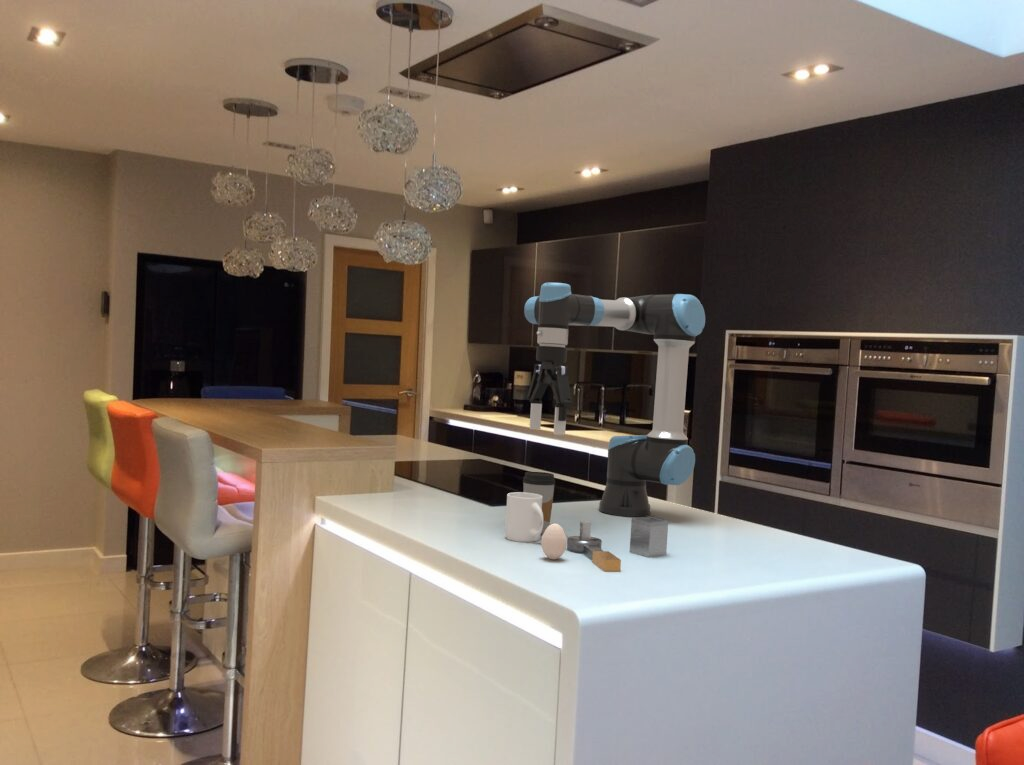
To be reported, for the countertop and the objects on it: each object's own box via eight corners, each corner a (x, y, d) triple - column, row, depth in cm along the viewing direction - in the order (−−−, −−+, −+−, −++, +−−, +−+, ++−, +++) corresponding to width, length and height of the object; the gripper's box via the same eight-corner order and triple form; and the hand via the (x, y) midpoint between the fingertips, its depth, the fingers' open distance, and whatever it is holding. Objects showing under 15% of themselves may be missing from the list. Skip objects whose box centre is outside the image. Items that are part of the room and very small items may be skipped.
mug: (526, 546, 199) (529, 501, 199) (497, 536, 209) (500, 493, 209) (555, 544, 204) (558, 499, 204) (526, 534, 214) (528, 491, 213)
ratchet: (594, 546, 204) (596, 519, 204) (630, 571, 181) (632, 540, 181) (562, 546, 202) (564, 518, 202) (594, 571, 179) (596, 540, 179)
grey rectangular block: (647, 549, 204) (649, 516, 203) (666, 554, 199) (668, 520, 199) (629, 551, 200) (631, 518, 200) (648, 557, 195) (650, 522, 195)
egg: (557, 563, 184) (560, 527, 184) (536, 559, 187) (538, 523, 187) (569, 559, 189) (571, 523, 189) (548, 555, 192) (550, 520, 191)
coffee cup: (549, 537, 211) (553, 477, 211) (516, 534, 213) (520, 474, 212) (554, 531, 219) (558, 473, 219) (522, 528, 221) (526, 470, 221)
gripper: (517, 344, 220) (512, 426, 220) (561, 345, 197) (556, 436, 198) (543, 346, 223) (538, 427, 223) (590, 347, 200) (584, 437, 201)
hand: (546, 431), depth 210 cm, fingers open, 13 cm apart
